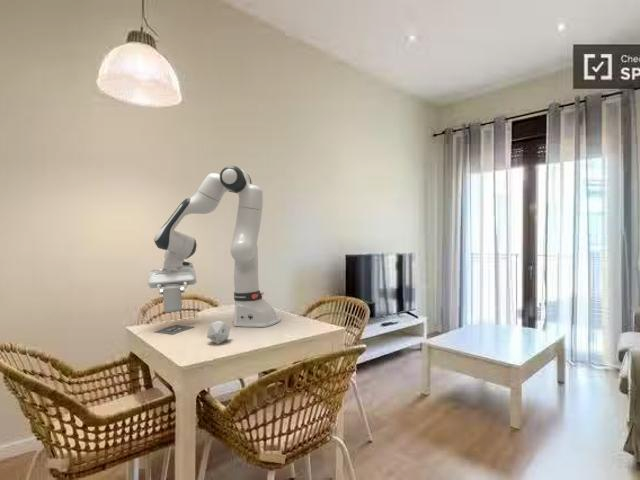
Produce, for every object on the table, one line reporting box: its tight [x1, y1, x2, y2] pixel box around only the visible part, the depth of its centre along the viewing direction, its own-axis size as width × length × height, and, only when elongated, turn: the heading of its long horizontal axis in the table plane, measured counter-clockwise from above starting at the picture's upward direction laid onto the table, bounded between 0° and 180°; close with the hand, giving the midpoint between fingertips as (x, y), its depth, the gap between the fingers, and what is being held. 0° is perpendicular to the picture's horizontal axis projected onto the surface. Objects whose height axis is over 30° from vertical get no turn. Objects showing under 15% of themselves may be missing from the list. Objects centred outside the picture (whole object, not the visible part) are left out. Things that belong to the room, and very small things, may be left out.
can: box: [162, 284, 183, 313], centre depth 159 cm, size 8×8×12 cm
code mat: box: [153, 324, 194, 336], centre depth 159 cm, size 12×12×1 cm
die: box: [206, 320, 231, 345], centre depth 138 cm, size 8×9×10 cm
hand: (172, 292), depth 158 cm, fingers closed on can, 7 cm apart
